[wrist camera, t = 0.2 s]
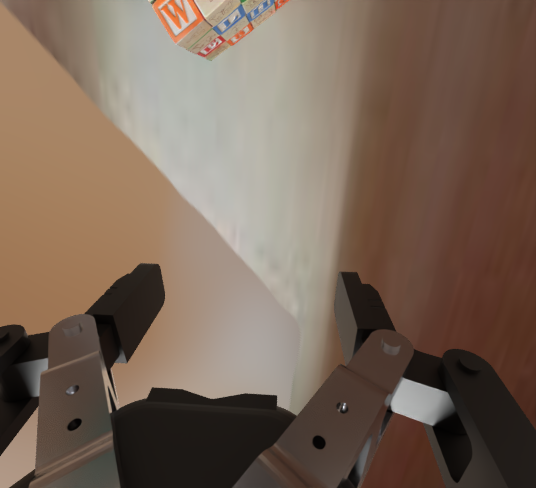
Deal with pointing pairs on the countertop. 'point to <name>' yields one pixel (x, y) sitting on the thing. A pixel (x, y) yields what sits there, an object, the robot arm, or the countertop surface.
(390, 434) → the countertop surface
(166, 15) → the stack of blocks
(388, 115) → the countertop surface
